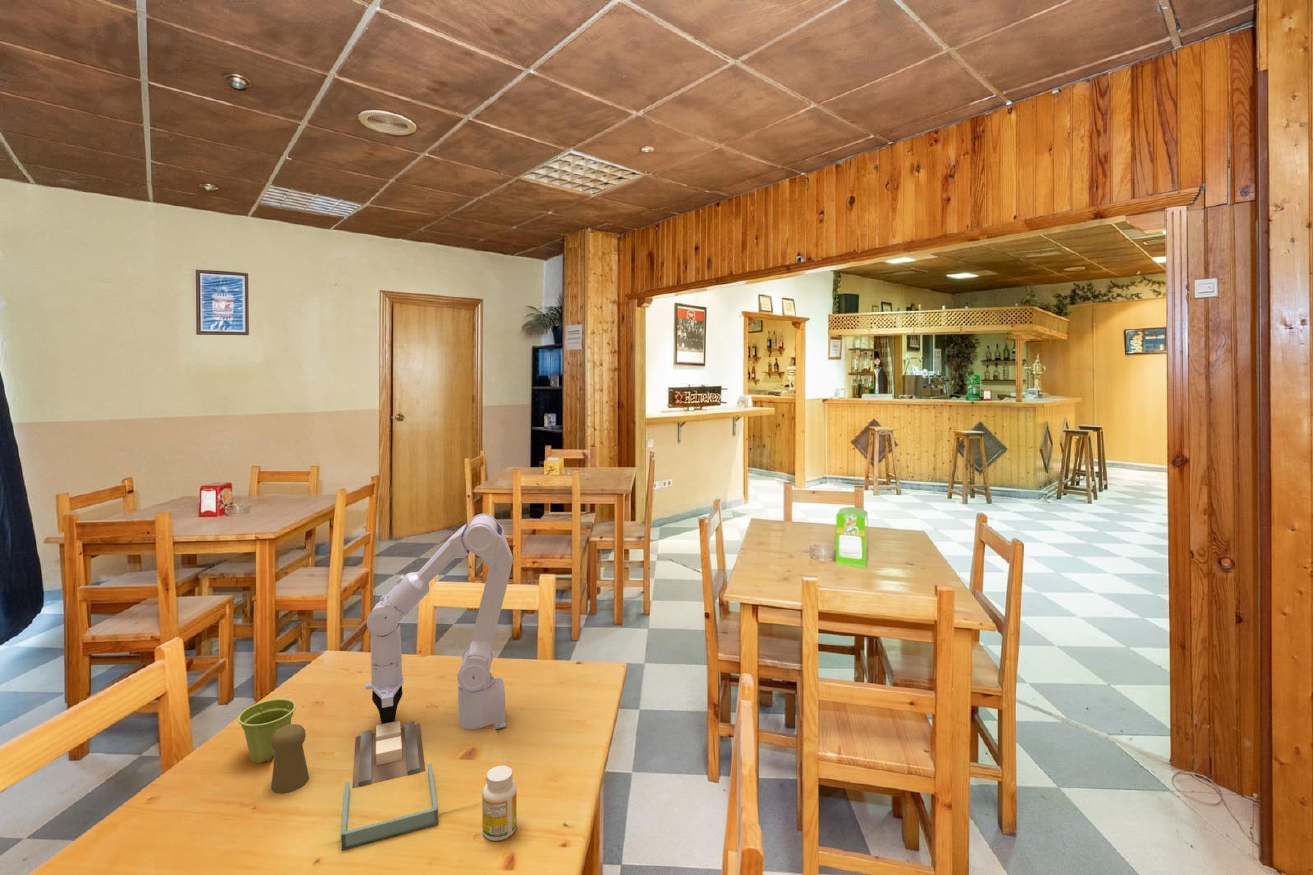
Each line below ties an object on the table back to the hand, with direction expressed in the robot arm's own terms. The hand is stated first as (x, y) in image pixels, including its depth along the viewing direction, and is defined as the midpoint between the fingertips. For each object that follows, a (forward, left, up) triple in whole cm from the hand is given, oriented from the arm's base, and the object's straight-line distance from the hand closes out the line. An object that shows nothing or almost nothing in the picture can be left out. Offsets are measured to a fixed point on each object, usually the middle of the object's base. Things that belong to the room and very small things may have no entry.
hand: (388, 723), depth 125 cm
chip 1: (0, +4, -1) cm, 5 cm away
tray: (0, +25, -2) cm, 25 cm away
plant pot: (+21, -1, -2) cm, 21 cm away
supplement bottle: (-16, +37, -2) cm, 40 cm away
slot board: (0, +9, -2) cm, 10 cm away
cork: (+16, +12, -2) cm, 20 cm away
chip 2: (0, +10, -1) cm, 11 cm away
